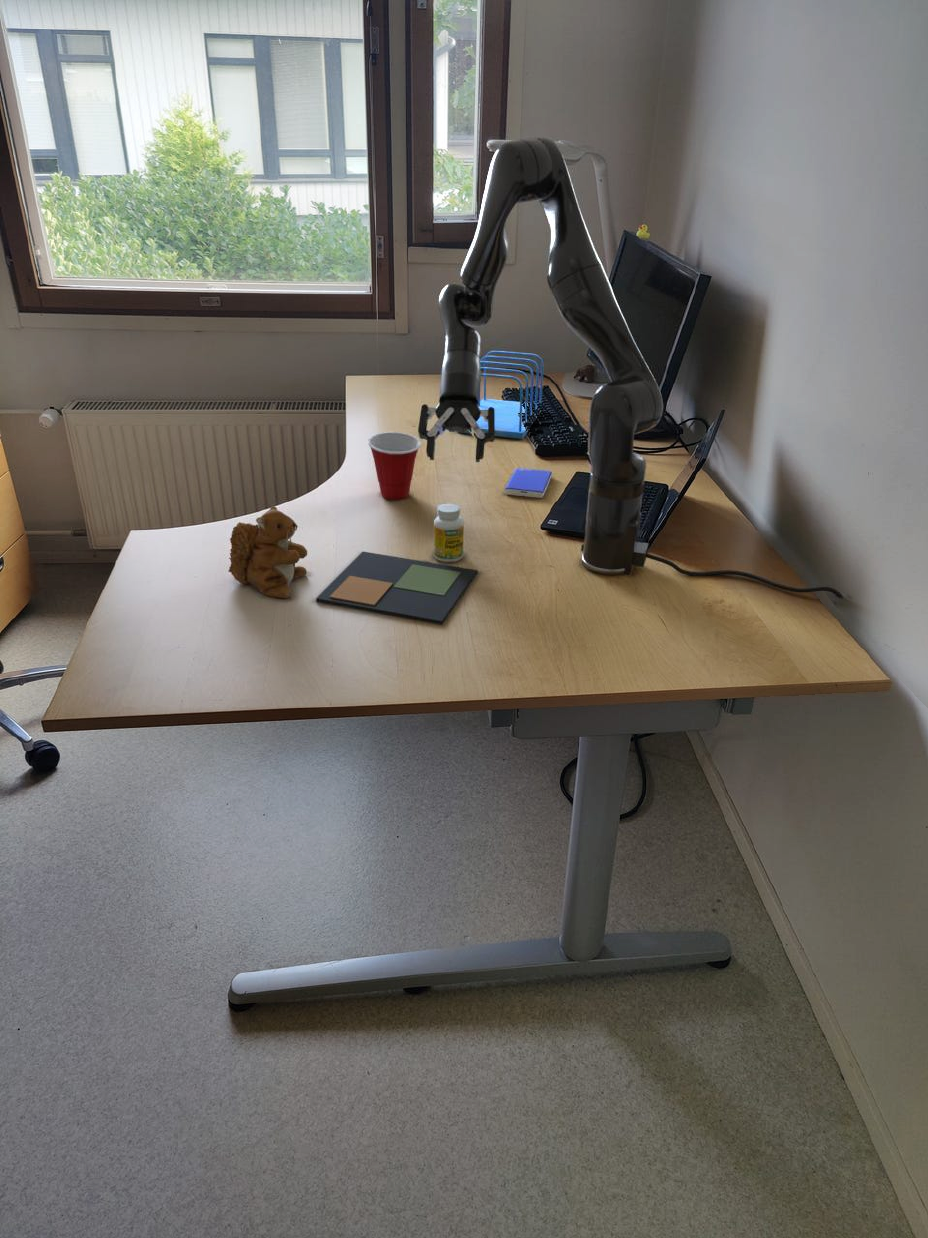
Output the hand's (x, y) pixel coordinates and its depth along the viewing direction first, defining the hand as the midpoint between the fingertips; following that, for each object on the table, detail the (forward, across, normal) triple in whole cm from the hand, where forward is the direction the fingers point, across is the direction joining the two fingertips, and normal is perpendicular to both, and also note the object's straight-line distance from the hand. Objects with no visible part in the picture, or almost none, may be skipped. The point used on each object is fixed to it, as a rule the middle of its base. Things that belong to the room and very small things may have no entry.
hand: (454, 459), depth 164 cm
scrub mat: (+27, -7, -7) cm, 29 cm away
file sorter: (-39, +7, +60) cm, 72 cm away
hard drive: (-8, +14, +28) cm, 33 cm away
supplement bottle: (+18, 0, +2) cm, 18 cm away
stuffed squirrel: (+28, -30, -7) cm, 41 cm away
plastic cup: (-2, -14, +22) cm, 26 cm away
